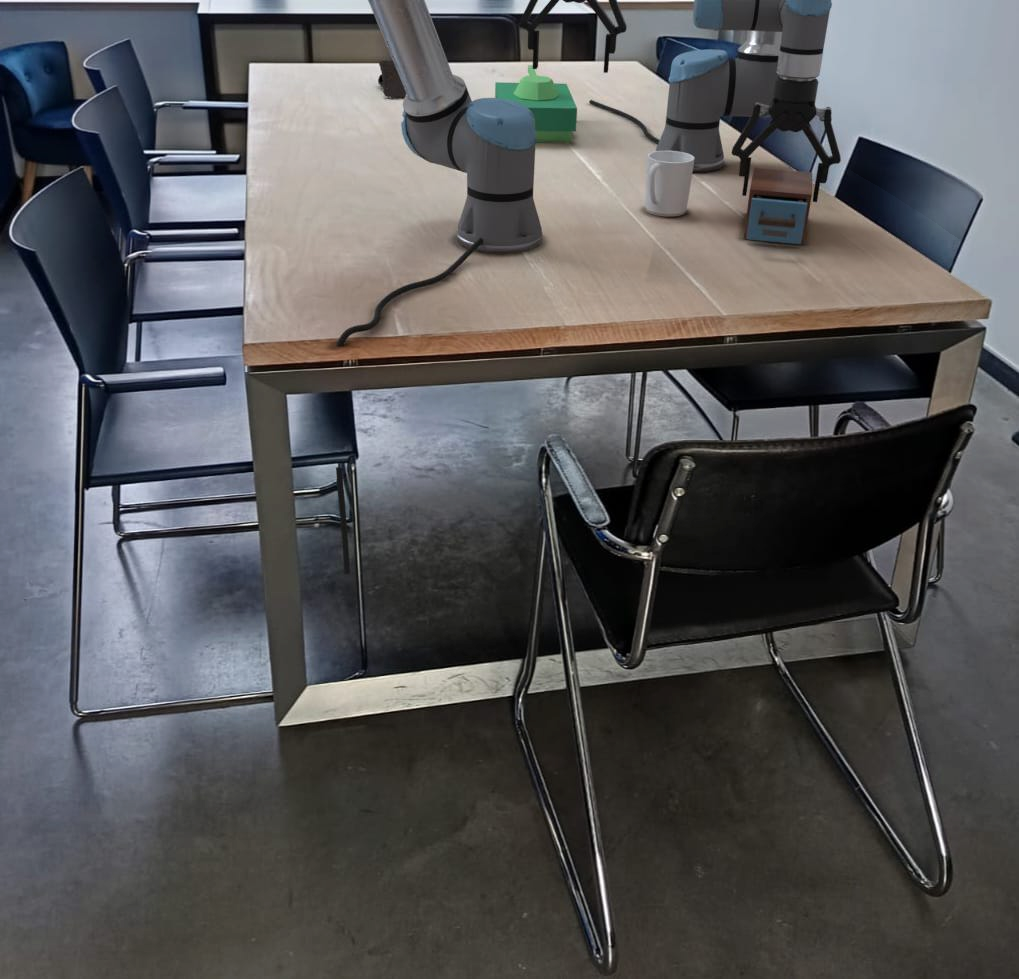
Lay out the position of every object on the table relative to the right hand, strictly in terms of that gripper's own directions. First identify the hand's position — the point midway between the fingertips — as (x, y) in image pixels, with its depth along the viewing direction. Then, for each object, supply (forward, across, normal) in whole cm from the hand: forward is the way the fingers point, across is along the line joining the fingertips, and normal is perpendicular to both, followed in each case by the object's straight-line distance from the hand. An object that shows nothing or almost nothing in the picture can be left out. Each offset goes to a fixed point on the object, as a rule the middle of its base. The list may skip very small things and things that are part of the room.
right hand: (779, 197), depth 205 cm
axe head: (+5, +103, -87) cm, 135 cm away
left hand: (-19, +42, -7) cm, 47 cm away
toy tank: (+5, +60, -58) cm, 84 cm away
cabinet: (+5, 0, +4) cm, 6 cm away
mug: (+5, +22, 0) cm, 22 cm away
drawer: (+4, 0, +10) cm, 11 cm away
